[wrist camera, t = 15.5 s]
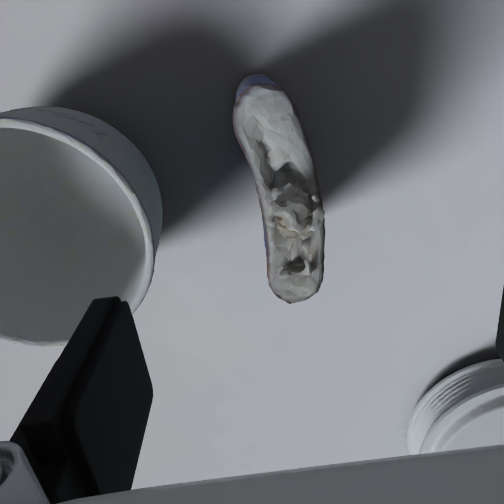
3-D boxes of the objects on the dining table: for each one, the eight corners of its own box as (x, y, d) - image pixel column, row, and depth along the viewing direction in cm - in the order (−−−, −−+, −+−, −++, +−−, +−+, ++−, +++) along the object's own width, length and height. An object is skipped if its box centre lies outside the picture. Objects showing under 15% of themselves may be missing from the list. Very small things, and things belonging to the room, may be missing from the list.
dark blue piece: (229, 80, 23) (222, 95, 13) (283, 67, 23) (316, 73, 13) (264, 235, 27) (279, 337, 17) (310, 225, 27) (352, 323, 17)
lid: (494, 489, 37) (530, 550, 32) (370, 445, 34) (391, 504, 30) (602, 384, 32) (661, 437, 28) (468, 324, 30) (509, 372, 25)
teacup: (138, 75, 23) (89, 81, 15) (200, 253, 27) (185, 325, 20) (-97, 145, 24) (-246, 182, 17) (-1, 305, 28) (-85, 391, 21)
